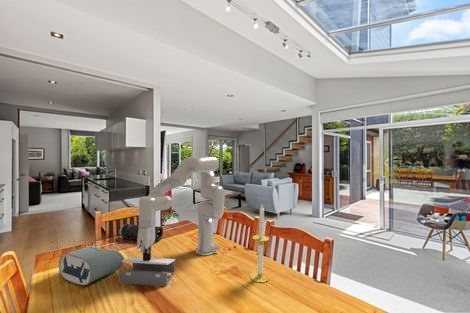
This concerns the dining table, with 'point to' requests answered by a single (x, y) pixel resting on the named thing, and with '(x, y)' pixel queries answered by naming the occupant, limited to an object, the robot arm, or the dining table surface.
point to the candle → (260, 248)
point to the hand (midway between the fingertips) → (146, 260)
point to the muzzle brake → (132, 232)
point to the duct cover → (152, 261)
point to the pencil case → (89, 264)
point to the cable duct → (148, 274)
